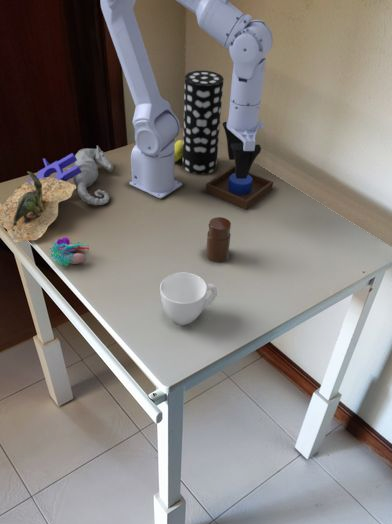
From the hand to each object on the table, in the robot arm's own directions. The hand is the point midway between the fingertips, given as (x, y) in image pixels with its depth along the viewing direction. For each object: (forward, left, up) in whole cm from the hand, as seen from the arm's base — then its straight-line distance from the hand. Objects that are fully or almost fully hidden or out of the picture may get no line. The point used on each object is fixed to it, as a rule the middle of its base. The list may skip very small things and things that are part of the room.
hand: (237, 168), depth 102 cm
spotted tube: (-17, +10, -10) cm, 22 cm away
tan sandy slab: (-31, -32, -1) cm, 45 cm away
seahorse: (-22, -19, -9) cm, 30 cm away
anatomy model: (-11, -33, -7) cm, 35 cm away
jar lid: (-3, +7, -7) cm, 10 cm away
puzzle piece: (-34, -20, -6) cm, 40 cm away
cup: (+13, -33, -10) cm, 37 cm away
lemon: (-24, +9, -6) cm, 27 cm away
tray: (-3, +7, -9) cm, 12 cm away
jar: (+7, -16, -9) cm, 20 cm away
